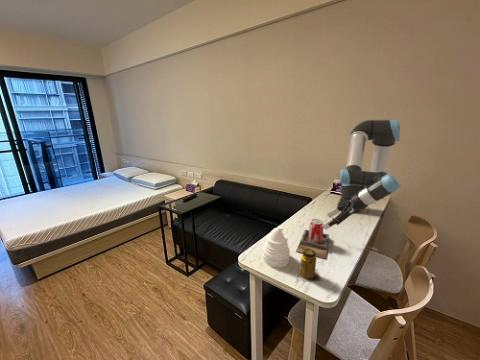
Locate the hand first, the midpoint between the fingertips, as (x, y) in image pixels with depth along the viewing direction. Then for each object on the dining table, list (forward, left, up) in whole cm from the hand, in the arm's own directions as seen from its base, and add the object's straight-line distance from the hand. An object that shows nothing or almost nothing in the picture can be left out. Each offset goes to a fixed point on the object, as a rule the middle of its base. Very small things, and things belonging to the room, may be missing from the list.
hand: (326, 221), depth 115 cm
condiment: (+26, -2, -14) cm, 30 cm away
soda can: (0, -5, -14) cm, 14 cm away
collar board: (+2, -5, -15) cm, 16 cm away
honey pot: (+22, -19, -14) cm, 32 cm away
